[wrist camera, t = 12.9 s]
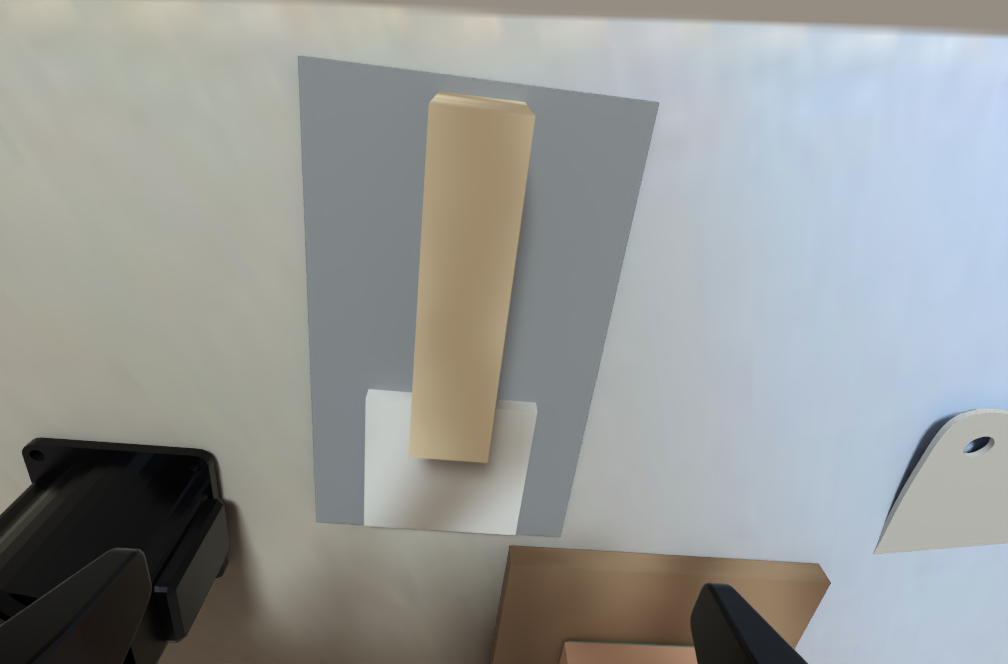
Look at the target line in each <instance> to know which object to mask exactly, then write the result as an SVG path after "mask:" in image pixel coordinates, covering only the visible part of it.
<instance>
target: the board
mask: <svg viewBox="0 0 1008 664" xmlns="http://www.w3.org/2000/svg"><path fill="white" fill-rule="evenodd" d="M708 582H711V583H725V584H729V585H730V586H732V587H733V588H734V589H735V590H736V591H737V592H738V593H739V594H740V595H741V596H742V597H743V598H744V599H745V600H746V601H747V602H748V603H749V604H750V605H751V606H752V607H753V608H754V609H755V610H756V611H757V612H758V613H759V614H760V615H761V616H762V617H763V618H764V619H765V620H766V621H767V622H768V623H769V624H770V625H771V626H772V627H773V628H774V629H775V630H776V631H777V632H778V633H779V634H780V635H781V636H782V638H783V639H784V640H785V641H786V642H787V643H788V644H789V645H790V646H791V647H792V648H793V649H795V647H796V645H797V643H798V642H799V640H800V638H801V636H802V634H803V633H804V631H805V629H806V627H807V625H808V624H809V622H810V620H811V618H812V616H813V615H814V613H815V611H816V609H817V607H818V605H819V604H820V602H821V600H822V598H823V596H824V595H825V593H826V591H827V589H828V587H829V586H830V584H831V582H830V581H829V579H828V578H827V576H826V574H825V573H824V571H823V570H822V568H821V567H820V565H819V564H811V563H794V562H777V561H761V560H744V559H727V558H710V557H693V556H676V555H660V554H643V553H626V552H609V551H592V550H576V549H559V548H542V547H525V546H510V547H509V552H508V558H507V564H506V570H505V575H504V581H503V587H502V593H501V598H500V604H499V610H498V616H497V621H496V627H495V633H494V639H493V644H492V650H491V656H490V662H489V664H559V662H560V658H561V654H562V650H563V646H564V643H565V642H568V641H587V642H609V643H631V644H653V645H675V646H694V643H693V638H692V633H691V627H690V617H691V613H692V610H693V608H694V605H695V603H696V600H697V598H698V595H699V593H700V590H701V588H702V586H703V585H704V584H705V583H708Z"/></svg>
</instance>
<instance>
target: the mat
mask: <svg viewBox="0 0 1008 664" xmlns="http://www.w3.org/2000/svg"><path fill="white" fill-rule="evenodd" d="M298 71H299V96H300V121H301V147H302V172H303V197H304V222H305V247H306V273H307V298H308V323H309V348H310V374H311V399H312V424H313V449H314V474H315V500H316V522H325V523H341V524H357V525H364V482H365V407H366V396H367V393H368V390H369V389H375V390H387V391H400V392H412V386H413V369H414V352H415V334H416V317H417V299H418V282H419V265H420V247H421V230H422V212H423V195H424V178H425V160H426V143H427V125H428V108H429V102H430V101H431V100H432V99H433V98H434V97H435V96H436V94H437V93H438V92H439V91H442V92H449V93H457V94H465V95H473V96H480V97H488V98H496V99H504V100H512V101H519V102H525V103H526V104H527V106H528V107H529V108H530V110H531V111H532V112H533V114H534V115H535V124H534V131H533V138H532V145H531V153H530V160H529V167H528V174H527V182H526V189H525V196H524V203H523V211H522V218H521V225H520V232H519V239H518V247H517V254H516V261H515V268H514V276H513V283H512V290H511V297H510V305H509V312H508V319H507V326H506V333H505V341H504V348H503V355H502V362H501V370H500V377H499V384H498V391H497V399H496V400H508V401H521V402H533V403H536V406H537V418H536V424H535V429H534V435H533V440H532V446H531V451H530V457H529V463H528V468H527V474H526V479H525V485H524V490H523V496H522V501H521V507H520V513H519V518H518V524H517V529H516V534H520V535H537V536H553V537H560V536H561V532H562V528H563V523H564V519H565V514H566V510H567V506H568V501H569V497H570V492H571V488H572V484H573V479H574V475H575V470H576V466H577V462H578V457H579V453H580V448H581V444H582V440H583V435H584V431H585V427H586V422H587V418H588V413H589V409H590V405H591V400H592V396H593V391H594V387H595V383H596V378H597V374H598V369H599V365H600V361H601V356H602V352H603V348H604V343H605V339H606V334H607V330H608V326H609V321H610V317H611V312H612V308H613V304H614V299H615V295H616V290H617V286H618V282H619V277H620V273H621V268H622V264H623V260H624V255H625V251H626V247H627V242H628V238H629V233H630V229H631V225H632V220H633V216H634V211H635V207H636V203H637V198H638V194H639V189H640V185H641V181H642V176H643V172H644V167H645V163H646V159H647V154H648V150H649V146H650V141H651V137H652V132H653V128H654V124H655V119H656V115H657V110H658V106H659V103H658V102H653V101H645V100H637V99H630V98H622V97H614V96H607V95H599V94H591V93H583V92H576V91H568V90H560V89H553V88H545V87H537V86H530V85H522V84H514V83H507V82H499V81H491V80H483V79H476V78H468V77H460V76H453V75H445V74H437V73H430V72H422V71H414V70H406V69H399V68H391V67H383V66H376V65H368V64H360V63H353V62H345V61H337V60H330V59H322V58H314V57H306V56H298Z"/></svg>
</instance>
